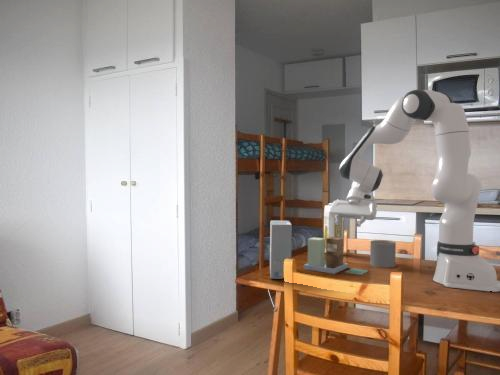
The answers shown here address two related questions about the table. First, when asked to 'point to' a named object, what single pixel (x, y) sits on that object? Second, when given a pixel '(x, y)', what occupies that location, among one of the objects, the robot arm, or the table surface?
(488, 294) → the table surface
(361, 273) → the felt pad
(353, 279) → the table surface
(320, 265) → the sage box
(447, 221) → the robot arm
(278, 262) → the hard drive box
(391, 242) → the coffee mug
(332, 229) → the juice carton
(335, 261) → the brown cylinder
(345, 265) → the parts tray
